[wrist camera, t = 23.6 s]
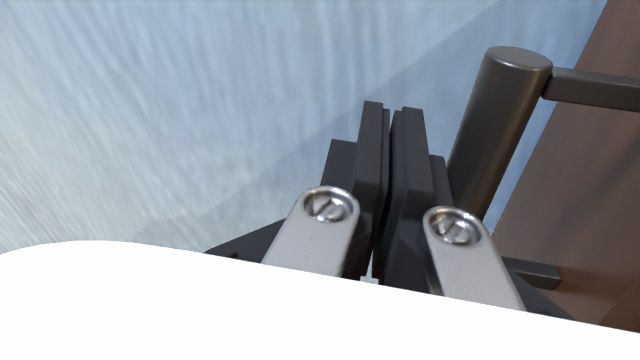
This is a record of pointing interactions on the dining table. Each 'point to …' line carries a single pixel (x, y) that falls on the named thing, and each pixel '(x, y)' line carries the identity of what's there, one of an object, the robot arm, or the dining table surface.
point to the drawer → (563, 169)
